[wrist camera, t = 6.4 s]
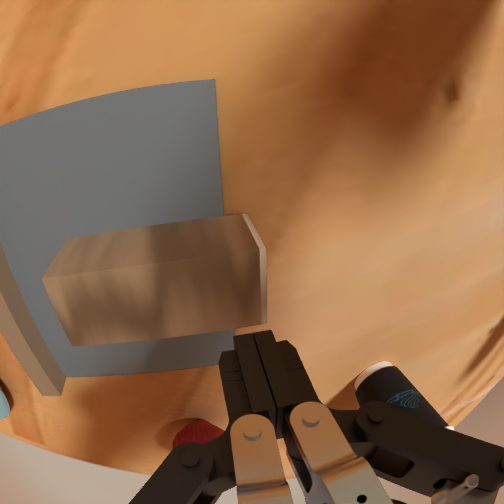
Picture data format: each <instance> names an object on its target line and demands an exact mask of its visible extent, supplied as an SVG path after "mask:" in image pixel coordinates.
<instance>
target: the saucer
mask: <svg viewBox="0 0 504 504" xmlns="http://www.w3.org/2000/svg"><path fill="white" fill-rule="evenodd" d="M9 413H10V406H9V403H8V401H7V398H6V396H5V394H4V392H3V390H2V388H1V386H0V419H2V418H5V417H7V416H8V415H9Z"/></svg>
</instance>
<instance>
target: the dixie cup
mask: <svg viewBox="0 0 504 504" xmlns="http://www.w3.org/2000/svg"><path fill="white" fill-rule="evenodd" d="M354 387H355V389H356V397H357V400H358V402H359V405H360V407H361V406H362V405H363V404H365V403H367V402H370V401H380V402H384V403H386V404H388V405H391V406H393V407H395V408H398V409H400V410H403V411H405V412H407V413H410V414H412V415H415V416H417V417H420V418H422V419H425V420H427V421H430V422H432V423H435V424H437V425H440V426H443V427H445V428H448V429H451V430H453V431H454V427H453V426H449V425H448V424H447V423H446V422H445V421H444V420H443V418H442V417H441V416H440V415H439V414H438V413H437V412H436V410H435V409H434V408H433V407H432V406H431V405H430V404H429V402H428V401H427V400H426V399H425V398H424V397H423V396H422V395H421V393H420V392H419V391H418V390H417V389H416V388H415V387H414V386H413V384H412V383H411V382H410V381H409V380H408V379H407V378H406V377H405V376H404V374H403V373H402V372H401V371H400V370H399V369H398V368H397V367H395V366H393V365H392V364H391V363H390V362H388V361H382V362H378V363H376V364H373V365H372V366H370V367H368V368H367V369H365V370H364V371H363V372H362V373H361V374H360V375H359V376H358V377H357V379H356V381H355V383H354Z"/></svg>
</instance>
